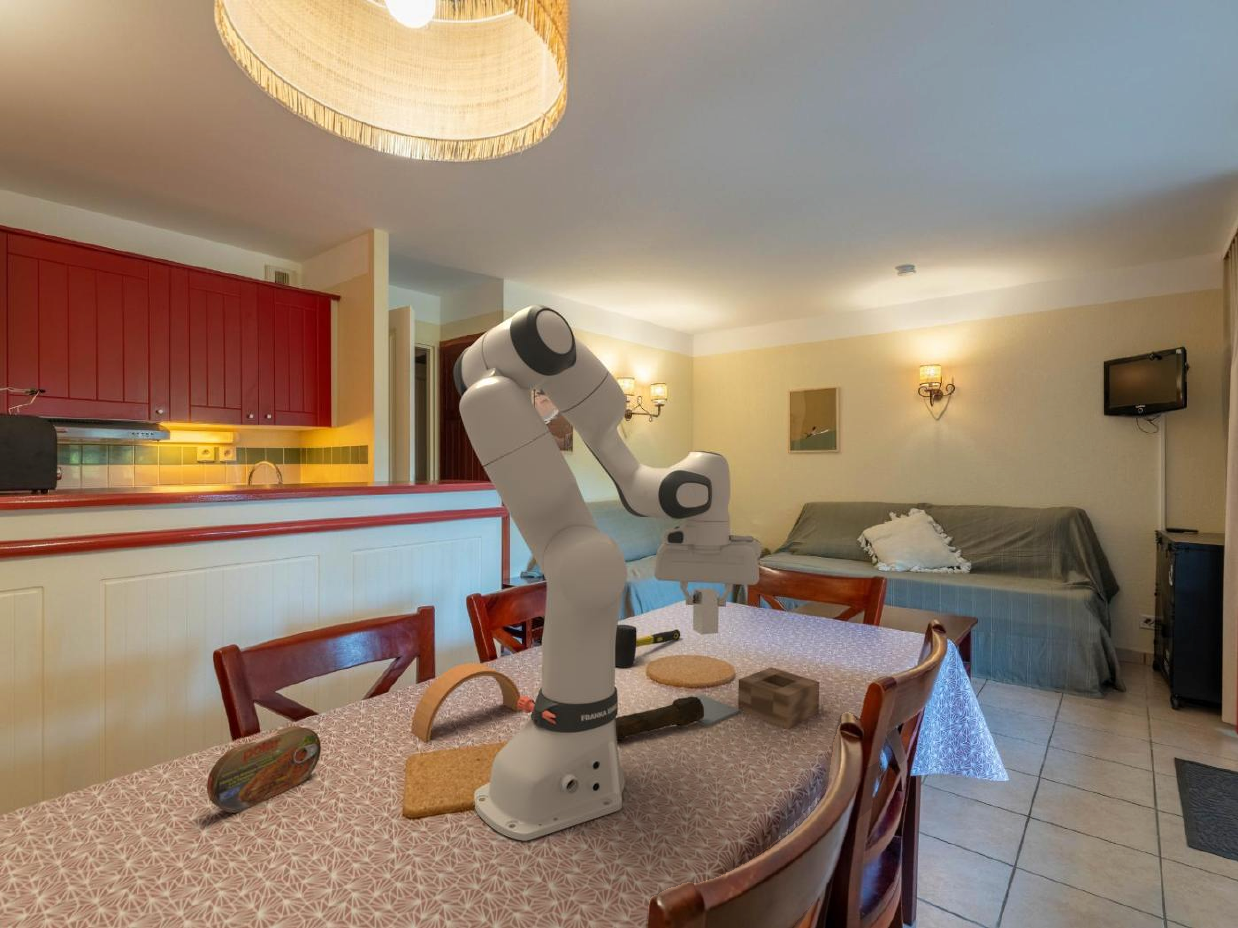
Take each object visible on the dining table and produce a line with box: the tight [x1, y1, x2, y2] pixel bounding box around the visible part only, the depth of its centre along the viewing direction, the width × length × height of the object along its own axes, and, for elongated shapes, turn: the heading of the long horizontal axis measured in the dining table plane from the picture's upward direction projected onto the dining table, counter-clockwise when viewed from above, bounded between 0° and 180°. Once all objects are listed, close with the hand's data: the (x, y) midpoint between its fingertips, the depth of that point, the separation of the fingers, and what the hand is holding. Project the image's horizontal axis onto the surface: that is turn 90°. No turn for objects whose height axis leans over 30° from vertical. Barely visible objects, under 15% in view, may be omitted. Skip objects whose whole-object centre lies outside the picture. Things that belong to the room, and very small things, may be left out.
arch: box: [410, 662, 523, 744], centre depth 112 cm, size 6×20×10 cm, turn 133°
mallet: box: [615, 624, 681, 668], centre depth 153 cm, size 29×6×10 cm, turn 145°
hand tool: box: [615, 696, 704, 742], centre depth 108 cm, size 19×4×5 cm, turn 112°
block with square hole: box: [737, 666, 820, 730], centre depth 117 cm, size 11×11×6 cm
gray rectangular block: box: [692, 587, 720, 635], centre depth 117 cm, size 4×4×8 cm
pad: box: [695, 694, 742, 728], centre depth 117 cm, size 10×10×1 cm
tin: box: [206, 725, 322, 814], centre depth 87 cm, size 15×3×8 cm, turn 148°
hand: (705, 605), depth 117 cm, fingers closed on gray rectangular block, 5 cm apart
